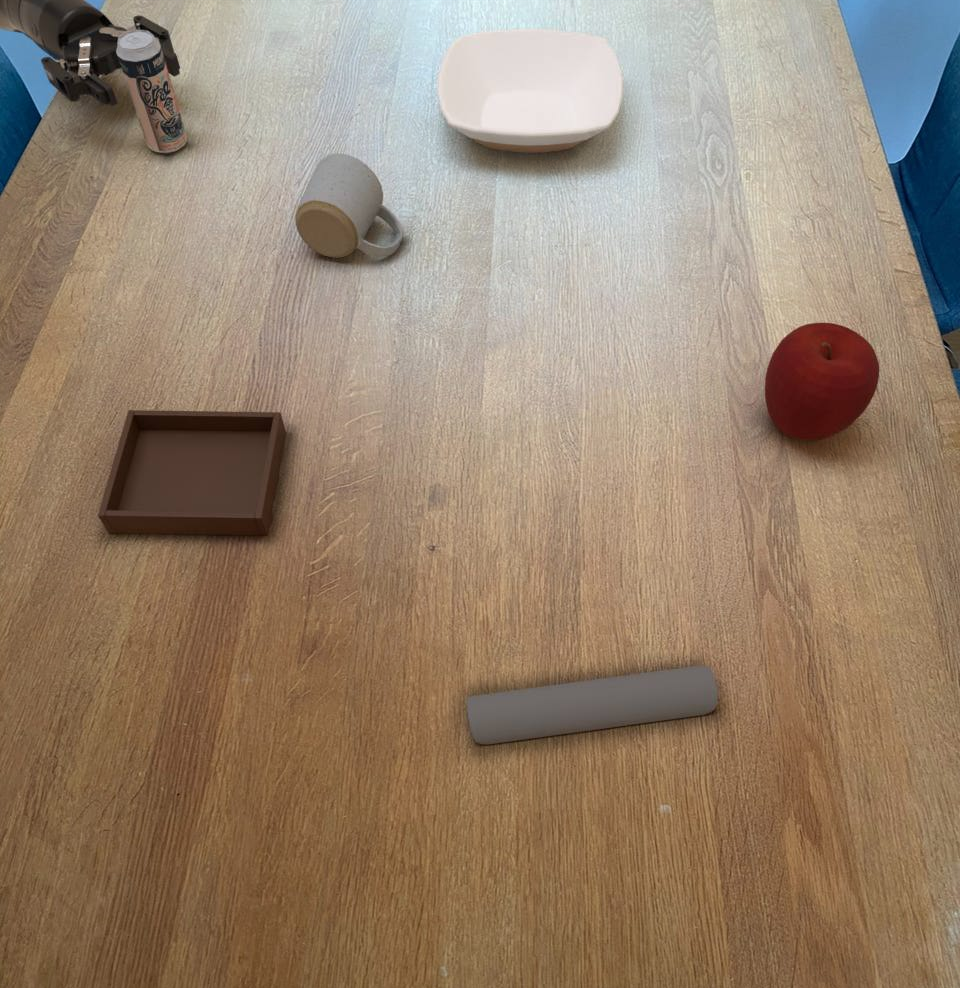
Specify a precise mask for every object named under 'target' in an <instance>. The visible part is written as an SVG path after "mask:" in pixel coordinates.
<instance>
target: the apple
mask: <svg viewBox="0 0 960 988" xmlns="http://www.w3.org/2000/svg"><path fill="white" fill-rule="evenodd" d="M764 379H765V382H764V401H765V404H766V410H767V414H768V415H769V418H770V420H771V422H772V424H773V425H774V426H775V427H776V429H777V430H778V431H779V432H781V433H782V434H784V435H785V436H788V437H789V438H792V439H796V440H799V441H818V440H819V441H820V440H825V439H827V438H830V437H832V436H835V435H838V434H839V433H842V432H843V431H845V430H846V429H847V428H849V427H850V426H852V425H853V424H854V423H855V422H856V421H857V420H858V419H859V418H860V417H861V416H862V414H863V413H864V412H865V411H866V409H867V408H868V406H869V405H870V403H871V402H872V400H873V398H874V396H875V394H876V391H877V388H878V384H879V379H880V363H879V360H878V357H877V353H876V351H875V348H874V347H873V346H872V344H871V343H870V342H869V341H868V340H867V339H866V338H865V337H864V336H862V335H861V334H859V333H858V332H856V331H855V330H853V329H851V328H849V327H846V326H844V325H841V324H839V323H832V322H813V323H806V324H804V325H801V326H798V327H797V328H794V329H793V330H792V331H790V332H789V333H788V334H786V336H785V337H783V338H782V339H781V340H780V342H779V343H778V345H777V346H776V347H775V349H774V351H773V352H772V354H771V357H770V359H769V362H768V365H767V368H766V373H765V378H764Z"/></svg>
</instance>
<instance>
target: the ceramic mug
mask: <svg viewBox="0 0 960 988" xmlns="http://www.w3.org/2000/svg"><path fill="white" fill-rule="evenodd" d="M383 201H384V191H383V186H382V184H381V181H380V179H379V178H378V177H377V175H376V173H375V172H374V171H373V170H372V168H370V167H369V166H368V165H367V164H366V163H365V162H363V161H361V160H360V159H359V158H357V157H355V156H353V155H350V154H346V153H331V154H328V155H326V156H324V157H322V158H321V160H320V161H319V162H318V163H317V165H316V167H315V169H314V171H313V173H312V176H311V178H310V179H309V181H308V183H307V186H306V188H305V190H304V192H303V194H302V196H301V198H300V200H299V203H298V204H297V208H296V211H295V212H296V213H295V219H294V220H295V227H296V230H297V232H298V235H299V236H300V238H301V239H302V241H303V242H304V243H305V244H306V245H307V247H309V248H310V249H312V250H313V251H314V252H316V253H318V254H320V255H322V256H325V257H329V258H344V257H348V256H349V255H351V254H352V253H353V252H354V251H355V250H356V249H357V250H360V251H361V252H362V253H364V254H366V255H369V256H372V257H375V258H386V257H389V256H392V255H393V254H394V253H395V252H396V251H397V250H398V249H399V247H400V244H401V242H402V240H403V237H404V236H403V235H404V230H403V226H402V223H401V222H400V221H399V219H398V217H397V216H396V215H395V214H394V213H393V212H392V211H391V209H389V208H387V206H385V205H383V204H384V203H383ZM376 217H378V218H380V219H381V220H383V221H384V222H386V224H387V225H389V227H390V228H391V229H392V231H393V233H394V235H395V239H394V240H393V241H392V243H390V244H388V245H385V246H383V245H382V246H381V245H377V244H374V243H371V242H369V241H368V240H366V239H364V238H365V237H366V234H367V233H368V231H369V229H370V228H371V226H372V224H373V222H374V221H375V219H376Z"/></svg>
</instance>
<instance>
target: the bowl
mask: <svg viewBox="0 0 960 988" xmlns="http://www.w3.org/2000/svg"><path fill="white" fill-rule="evenodd" d="M623 92H624V77H623V72H622V67H621V63H620V61H619V58H618V56H617V53H616V51H615V50H614V48H613V47H612V46H611V45H610V43H609V42H608V41H607V40H606V39H605V38H604V37H603V36H602V37H601V36H598V35H593V34H588V33H585V32H578V31H577V32H576V31H569V30H567V31H566V30H557V29H542V28H541V29H539V28H520V29H518V28H516V29H515V28H514V29H513V28H512V29H499V30H497V29H496V30H485V31H484V30H483V31H478V32H473V33H468V34H463V35H459V36H457V37H456V38H455V40H454V41H453V42H452V43H451V44H450V46H449V47H448V48H447V49H446V50H445V52H444V56H443V58H442V60H441V63H440V67H439V70H438V75H437V100H438V104H439V110H440V112H441V114H442V115H443V117H444V119H445V121H446V122H447V124H448V125H449V126H450V127H451V128H453V129H455V130H456V131H458V132H459V133H461V134H463V135H465V136H466V137H468V138H470V139H471V140H474V141H475V142H476V143H478V144H480V145H481V146H483V147H485V148H487V149H491V150H498V151H505V152H511V153H512V152H513V153H524V154H525V153H526V154H530V153H531V154H532V153H533V154H534V153H535V154H536V153H549V152H557V151H565V150H568V149H572V148H574V147H576V146H577V145H580V144H581V143H583V142H585V141H587V140H589V139H591V138H593V137H595V136H596V135H599V134H600V133H602V132H604V131H606V130H607V129H609V128H610V127H611V126H612V125H613V123H614V122H615V120H616V118H617V117H618V115H619V114H620V110H621V106H622V102H623Z"/></svg>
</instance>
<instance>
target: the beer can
mask: <svg viewBox="0 0 960 988" xmlns="http://www.w3.org/2000/svg"><path fill="white" fill-rule="evenodd" d="M117 44H118V46H117V50H116V53H117V56H118V59H119V62H120V65H121V68H120V69H121V71H122V74H123V77H124V80H125V83H126V87H127V89H128V93H129V95H130V98H131V101H132V105H133V107H134V110H135V113H136V117H137V119H138V122H139V126H140V128H141V131H142V134H143V137H144V140H145V143H146V146H147V147H148V149H150V150H151V151H153V152H155V153H160V154H172V153H174V152H177V151H179V150H180V149H181V148H183V147H184V146H185V145H186V144H187V141H188V134H187V132H186V128H185V124H184V121H183V117H182V114H181V110H180V107H179V104H178V101H177V97H176V93H175V90H174V86H173V83H172V80H171V76H170V74H169V73H168V69H167V66H166V62H165V59H164V55H163V52H162V49H161V45H160V43H159V42H158V41H157V40H156V38H155V37H154V35H152V34H151V33H150V32H149V31H145V30H133V31H128V32H126V33H124V34H123V35H121V36H120V37H119V38H118V43H117Z"/></svg>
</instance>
